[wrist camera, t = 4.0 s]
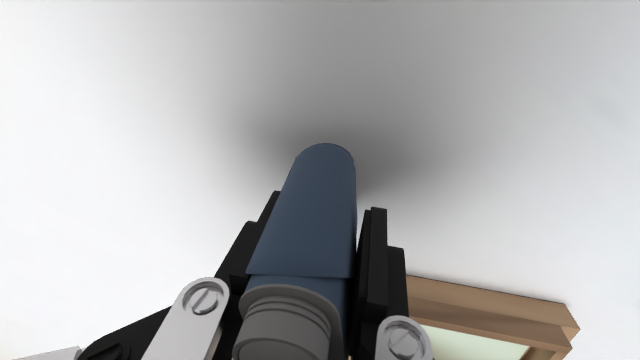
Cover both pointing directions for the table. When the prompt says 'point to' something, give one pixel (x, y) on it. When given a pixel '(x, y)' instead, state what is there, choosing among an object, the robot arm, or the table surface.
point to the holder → (488, 323)
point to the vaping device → (304, 265)
